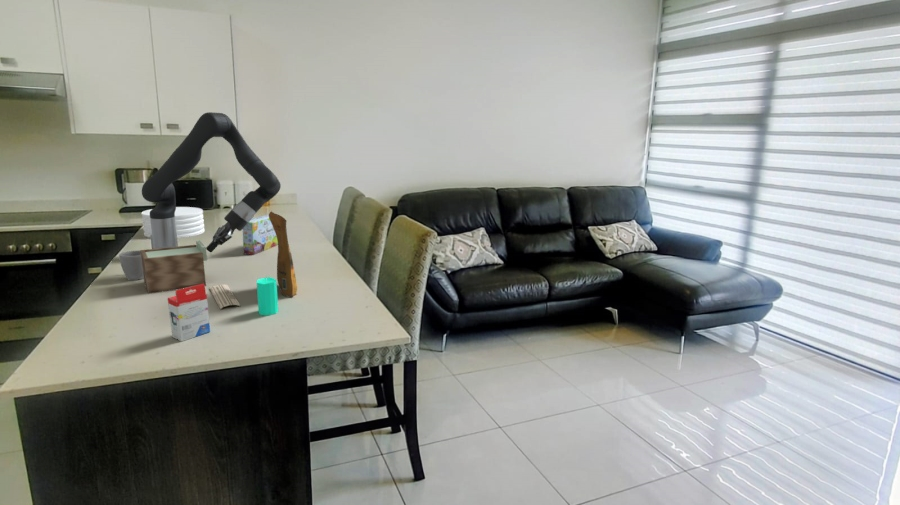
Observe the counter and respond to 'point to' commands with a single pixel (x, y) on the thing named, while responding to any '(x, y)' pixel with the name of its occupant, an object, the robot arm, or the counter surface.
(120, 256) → the mug
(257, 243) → the snack box
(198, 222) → the plate stack
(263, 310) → the candle
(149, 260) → the box
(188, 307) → the ink box
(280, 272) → the pancake mix bag
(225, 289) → the newspaper
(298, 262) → the counter surface
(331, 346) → the counter surface
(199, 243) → the lid
